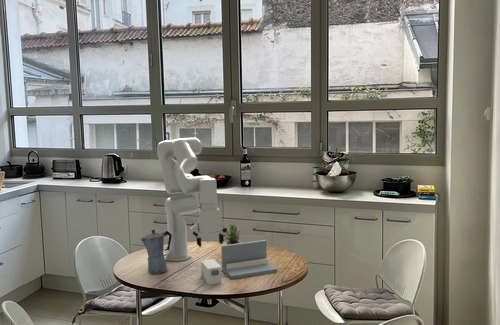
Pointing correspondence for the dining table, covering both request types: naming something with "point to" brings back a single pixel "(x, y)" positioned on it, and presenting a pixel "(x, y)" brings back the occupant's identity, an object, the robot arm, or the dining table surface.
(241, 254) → the cleat board
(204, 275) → the cream rectangular block
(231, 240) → the house plant
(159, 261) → the moka pot
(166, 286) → the dining table surface
